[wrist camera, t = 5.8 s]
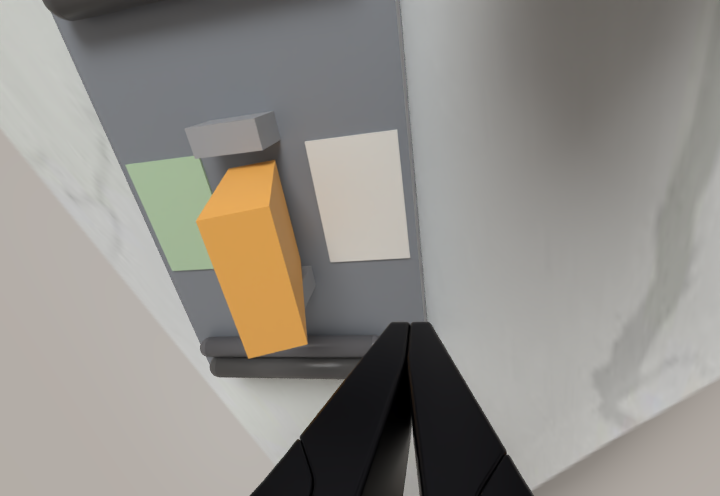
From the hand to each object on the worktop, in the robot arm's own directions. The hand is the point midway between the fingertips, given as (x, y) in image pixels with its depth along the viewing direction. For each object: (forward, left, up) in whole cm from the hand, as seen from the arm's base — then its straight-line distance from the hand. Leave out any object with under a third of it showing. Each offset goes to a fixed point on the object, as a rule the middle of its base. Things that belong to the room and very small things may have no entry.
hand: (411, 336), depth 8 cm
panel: (+7, 0, -12) cm, 14 cm away
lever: (+7, 0, -9) cm, 12 cm away
